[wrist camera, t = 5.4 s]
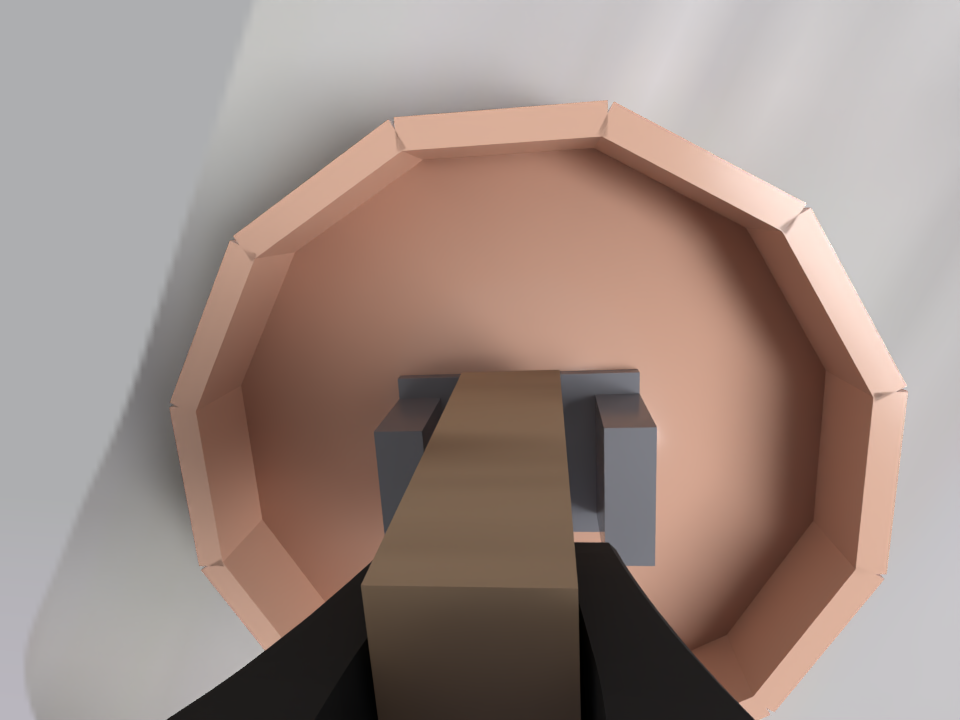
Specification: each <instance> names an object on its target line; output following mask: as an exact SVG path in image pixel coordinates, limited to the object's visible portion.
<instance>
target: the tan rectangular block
mask: <svg viewBox="0 0 960 720" xmlns="http://www.w3.org/2000/svg"><path fill="white" fill-rule="evenodd" d="M361 591H362V599H363V606H364V614H365V622H366V629H367V637H368V645H369V653H370V660H371V668H372V676H373V684H374V691H375V699H376V707H377V715H378V720H581V704H580V655H579V605H578V581H577V569H576V557H575V545H574V533H573V522H572V510H571V498H570V486H569V474H568V462H567V451H566V439H565V427H564V415H563V403H562V391H561V380H560V370H528V371H493V372H462V373H461V375H460V377H459V379H458V382H457V384H456V386H455V388H454V390H453V392H452V394H451V396H450V398H449V401H448V403H447V405H446V407H445V409H444V411H443V413H442V415H441V417H440V420H439V422H438V424H437V426H436V428H435V430H434V432H433V434H432V436H431V438H430V441H429V443H428V445H427V447H426V449H425V451H424V453H423V455H422V457H421V460H420V462H419V464H418V466H417V468H416V470H415V472H414V474H413V476H412V479H411V481H410V483H409V485H408V487H407V489H406V491H405V493H404V495H403V497H402V500H401V502H400V504H399V506H398V508H397V510H396V512H395V514H394V516H393V519H392V521H391V523H390V525H389V527H388V529H387V531H386V533H385V535H384V538H383V540H382V542H381V544H380V546H379V548H378V550H377V552H376V554H375V557H374V559H373V561H372V563H371V565H370V567H369V569H368V571H367V573H366V575H365V578H364V580H363V582H362V584H361Z"/></svg>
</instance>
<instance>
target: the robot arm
mask: <svg viewBox="0 0 960 720" xmlns="http://www.w3.org/2000/svg"><path fill="white" fill-rule="evenodd" d="M574 545H575V557H576V569H577V581H578V605H579V655H580V704H581V720H755V719H754V718H753V717H752V716H751V715H750V714H749V713H748V712H747V711H746V710H745V709H744V708H743V707H742V706H741V705H740V704H739V703H738V702H737V701H736V700H735V699H734V698H733V697H732V696H731V695H730V694H729V692H728V691H727V690H726V689H725V688H724V687H723V686H722V685H721V684H720V683H719V682H718V681H717V679H716V678H715V677H714V676H713V675H712V674H711V673H710V672H709V671H708V670H707V669H706V667H705V666H704V665H703V664H702V663H701V662H700V661H699V660H698V658H697V657H696V656H695V655H694V654H693V653H692V652H691V650H690V649H689V648H688V647H687V646H686V645H685V643H684V642H683V641H682V640H681V639H680V637H679V636H678V635H677V634H676V632H675V631H674V630H673V629H672V627H671V626H670V625H669V624H668V622H667V621H666V620H665V619H664V617H663V616H662V615H661V614H660V613H659V611H658V610H657V609H656V607H655V606H654V605H653V603H652V602H651V601H650V599H649V598H648V597H647V595H646V594H645V593H644V591H643V590H642V588H641V587H640V586H639V584H638V583H637V581H636V580H635V579H634V577H633V576H632V574H631V573H630V571H629V570H628V568H627V567H626V565H625V564H624V562H623V560H622V559H621V557H620V556H619V554H618V552H617V550H616V549H615V548H614V547H613V546H612V545H611V544H610V543H609V542H574ZM372 561H373V560H372ZM372 561H371V562H370V563H369V564H368V565H367V566H366V567H365V568H364V569H362V570H361V571H360V572H359V573H358V574H357V575H356V576H355V577H353V578H352V579H351V580H350V581H349V582H348V583H347V584H346V585H344V586H343V587H342V588H341V589H340V590H339V591H337V592H336V593H335V594H334V595H333V596H332V597H331V598H329V599H328V600H327V601H326V602H325V603H324V604H322V605H321V606H320V607H319V608H318V609H317V610H315V611H314V612H313V613H312V614H311V615H310V616H308V617H307V618H306V619H305V620H303V621H302V622H301V623H300V624H298V625H297V626H296V627H294V628H293V629H292V630H291V631H289V632H288V633H287V634H286V635H284V636H283V637H282V638H280V639H279V640H278V641H277V642H275V643H274V644H273V645H272V646H270V647H269V648H268V649H266V650H265V651H264V652H263V653H261V654H260V655H259V656H258V657H256V658H255V659H254V660H252V661H251V662H250V663H249V664H247V665H246V666H245V667H243V668H242V669H240V670H239V671H238V672H236V673H235V674H234V675H232V676H231V677H229V678H228V679H226V680H225V681H224V682H222V683H221V684H219V685H218V686H216V687H215V688H214V689H212V690H211V691H209V692H208V693H206V694H205V695H203V696H202V697H200V698H199V699H197V700H196V701H194V702H193V703H191V704H190V705H188V706H187V707H185V708H184V709H182V710H180V711H179V712H177V713H176V714H174V715H173V716H171V717H170V718H168V719H167V720H378V715H377V707H376V699H375V691H374V684H373V676H372V668H371V660H370V653H369V645H368V637H367V629H366V622H365V614H364V606H363V599H362V591H361V584H362V582H363V580H364V578H365V575H366V573H367V571H368V569H369V567H370V565H371V563H372Z"/></svg>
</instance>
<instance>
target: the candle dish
mask: <svg viewBox="0 0 960 720" xmlns="http://www.w3.org/2000/svg"><path fill="white" fill-rule="evenodd" d="M805 205H806V203H805V202H803V201H801V200H799V199H797V198H796V197H794V196H792V195H790V194H788V193H786V192H784V191H782V190H780V189H779V188H777V187H775V186H773V185H771V184H769V183H767V182H765V181H763V180H761V179H760V178H758V177H756V176H754V175H752V174H750V173H748V172H746V171H744V170H743V169H741V168H739V167H737V166H735V165H733V164H731V163H729V162H727V161H725V160H724V159H722V158H720V157H718V156H716V155H714V154H712V153H710V152H708V151H707V150H705V149H703V148H701V147H699V146H697V145H695V144H693V143H691V142H689V141H688V140H686V139H684V138H682V137H680V136H678V135H676V134H674V133H672V132H671V131H669V130H667V129H665V128H663V127H661V126H659V125H657V124H655V123H653V122H652V121H650V120H648V119H646V118H644V117H642V116H640V115H638V114H636V113H635V112H633V111H631V110H629V109H627V108H625V107H623V106H621V105H619V104H617V103H616V102H613V104H612V106H611V107H610V109H609V110H608V100H605V101H592V102H580V103H567V104H555V105H542V106H529V107H517V108H504V109H492V110H479V111H466V112H454V113H441V114H428V115H416V116H403V117H394V123H393V122H392V121H390V120H387V121H385V122H384V123H383V124H381V125H380V126H379V127H377V128H376V129H375V130H373V131H372V132H371V133H369V134H368V135H367V136H365V137H364V138H363V139H361V140H360V141H359V142H357V143H356V144H355V145H353V146H352V147H351V148H349V149H348V150H347V151H345V152H344V153H343V154H341V155H340V156H339V157H337V158H336V159H335V160H333V161H332V162H331V163H330V164H328V165H327V166H326V167H324V168H323V169H322V170H320V171H319V172H318V173H316V174H315V175H314V176H312V177H311V178H310V179H308V180H307V181H306V182H304V183H303V184H302V185H300V186H299V187H298V188H296V189H295V190H294V191H292V192H291V193H290V194H288V195H287V196H286V197H284V198H283V199H282V200H280V201H279V202H278V203H276V204H275V205H274V206H272V207H271V208H270V209H268V210H267V211H266V212H264V213H263V214H262V215H260V216H259V217H258V218H256V219H255V220H254V221H252V222H251V223H250V224H248V225H247V226H246V227H244V228H243V229H242V230H240V231H239V232H238V233H236V234H235V235H234V236H233V237H234V238H235V240H230V241H229V244H228V247H227V249H226V252H225V255H224V257H223V260H222V263H221V265H220V268H219V271H218V274H217V276H216V279H215V282H214V284H213V287H212V290H211V292H210V295H209V298H208V301H207V303H206V306H205V309H204V311H203V314H202V317H201V319H200V322H199V325H198V327H197V330H196V333H195V336H194V338H193V341H192V344H191V346H190V349H189V352H188V354H187V357H186V360H185V363H184V365H183V368H182V371H181V373H180V376H179V379H178V381H177V384H176V387H175V390H174V392H173V395H172V398H171V400H170V403H171V404H173V406H171V407H169V409H170V414H171V419H172V425H173V430H174V435H175V441H176V446H177V451H178V456H179V462H180V467H181V472H182V478H183V483H184V488H185V493H186V499H187V504H188V509H189V515H190V520H191V525H192V530H193V536H194V541H195V546H196V552H197V557H198V562H199V566H205V567H204V568H203V569H202V570H201V571H202V572H203V573H204V574H205V576H206V577H207V578H208V579H209V581H210V582H211V583H212V584H213V586H214V587H215V588H216V589H217V591H218V592H219V593H220V595H221V596H222V597H223V598H224V600H225V601H226V602H227V603H228V605H229V606H230V607H231V608H232V610H233V611H234V612H235V613H236V615H237V616H238V617H239V618H240V620H241V621H242V622H243V624H244V625H245V626H246V627H247V629H248V630H249V631H250V632H251V634H252V635H253V636H254V637H255V639H256V640H257V641H258V642H259V644H260V645H261V646H262V648H263V649H264V650H266V649H268V648H269V647H270V646H272V645H273V644H274V643H275V642H277V641H278V640H279V639H280V638H282V637H283V636H284V635H286V634H287V633H288V632H289V631H291V630H292V629H293V628H294V627H296V626H297V625H298V624H300V623H301V622H302V621H303V620H305V619H306V618H307V617H308V616H310V615H311V614H312V613H313V612H314V611H315V610H317V609H318V608H319V607H320V606H321V605H322V604H324V603H325V602H326V601H327V600H328V599H329V598H331V597H332V596H333V595H334V594H335V593H336V592H337V591H339V590H340V589H341V588H342V587H343V586H344V585H346V584H347V583H348V582H349V581H350V580H351V579H352V578H353V577H355V576H356V575H357V574H358V573H359V572H360V571H361V570H362V569H364V568H365V567H366V566H367V565H368V564H369V563H370V562H371V561H372V560H373V559H374V557H375V554H376V552H377V550H378V548H379V546H380V544H381V542H382V540H383V538H384V535H385V533H386V531H387V529H388V527H389V525H390V523H391V521H392V519H393V516H394V514H395V512H396V510H397V508H398V506H399V504H400V502H401V500H402V497H403V495H404V493H405V491H406V489H407V487H408V485H409V483H410V481H411V479H412V476H413V474H414V472H415V470H416V468H417V466H418V464H419V462H420V460H421V457H422V455H423V453H424V451H425V449H426V447H427V445H428V443H429V441H430V438H431V436H432V434H433V432H434V430H435V428H436V426H437V424H438V422H439V420H440V417H441V415H442V413H443V411H444V409H445V407H446V405H447V403H448V401H449V398H450V396H451V394H452V392H453V390H454V388H455V386H456V384H457V382H458V379H459V377H460V375H461V373H462V372H493V371H528V370H560V380H561V391H562V403H563V415H564V427H565V439H566V451H567V462H568V474H569V486H570V498H571V510H572V522H573V533H574V542H609V543H610V544H611V545H612V546H613V547H614V548H615V549H616V550H617V552H618V554H619V556H620V557H621V559H622V560H623V562H624V564H625V565H626V567H627V568H628V570H629V571H630V573H631V574H632V576H633V577H634V579H635V580H636V581H637V583H638V584H639V586H640V587H641V588H642V590H643V591H644V593H645V594H646V595H647V597H648V598H649V599H650V601H651V602H652V603H653V605H654V606H655V607H656V609H657V610H658V611H659V613H660V614H661V615H662V616H663V617H664V619H665V620H666V621H667V622H668V624H669V625H670V626H671V627H672V629H673V630H674V631H675V632H676V634H677V635H678V636H679V637H680V639H681V640H682V641H683V642H684V643H685V645H686V646H687V647H688V648H689V649H690V650H691V652H692V653H693V654H694V655H695V656H696V657H697V658H698V660H699V661H700V662H701V663H702V664H703V665H704V666H705V667H706V669H707V670H708V671H709V672H710V673H711V674H712V675H713V676H714V677H715V678H716V679H717V681H718V682H719V683H720V684H721V685H722V686H723V687H724V688H725V689H726V690H727V691H728V692H729V694H730V695H731V696H732V697H733V698H734V699H735V700H736V701H737V702H738V703H739V704H740V705H741V706H742V707H743V708H744V709H745V710H746V711H747V712H748V713H749V714H750V715H751V716H752V717H753V718H754V719H755V720H759V719H762V718H764V717H767V716H769V715H770V713H769V711H768V709H769V710H771V711H773V712H775V711H776V710H777V708H778V707H779V706H780V705H781V704H782V702H783V701H784V700H785V699H786V697H787V696H788V695H789V694H790V693H791V691H792V690H793V689H794V688H795V687H796V685H797V684H798V683H799V682H800V681H801V679H802V678H803V677H804V676H805V674H806V673H807V672H808V671H809V670H810V668H811V667H812V666H813V665H814V664H815V662H816V661H817V660H818V659H819V658H820V656H821V655H822V654H823V653H824V651H825V650H826V649H827V648H828V647H829V645H830V644H831V643H832V642H833V641H834V639H835V638H836V637H837V636H838V635H839V633H840V632H841V631H842V630H843V628H844V627H845V626H846V625H847V624H848V622H849V621H850V620H851V619H852V618H853V616H854V615H855V614H856V613H857V612H858V610H859V609H860V608H861V607H862V605H863V604H864V603H865V602H866V601H867V599H868V598H869V597H870V596H871V595H872V593H873V592H874V591H875V590H876V589H877V587H878V586H879V585H880V584H881V582H882V581H883V580H884V578H883V577H882V576H881V575H880V574H887V566H888V557H889V549H890V540H891V532H892V523H893V515H894V507H895V498H896V490H897V481H898V473H899V464H900V456H901V447H902V439H903V430H904V422H905V414H906V405H907V397H908V391H906V390H904V389H902V388H904V387H906V386H907V385H906V383H905V381H904V379H903V378H902V376H901V374H900V372H899V370H898V368H897V366H896V365H895V363H894V361H893V359H892V357H891V355H890V353H889V352H888V350H887V348H886V346H885V344H884V342H883V340H882V339H881V337H880V335H879V333H878V331H877V329H876V327H875V326H874V324H873V322H872V320H871V318H870V316H869V314H868V313H867V311H866V309H865V307H864V305H863V303H862V301H861V300H860V298H859V296H858V294H857V292H856V290H855V288H854V287H853V285H852V283H851V281H850V279H849V277H848V275H847V274H846V272H845V270H844V268H843V266H842V264H841V262H840V261H839V259H838V257H837V255H836V253H835V251H834V249H833V248H832V246H831V244H830V242H829V240H828V238H827V236H826V235H825V233H824V231H823V229H822V227H821V225H820V223H819V222H818V220H817V218H816V216H815V214H814V212H813V210H812V209H811V208H804V207H805Z"/></svg>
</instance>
